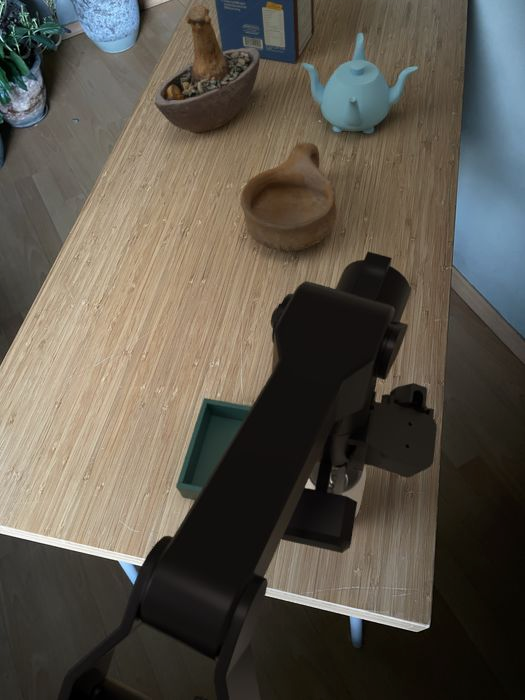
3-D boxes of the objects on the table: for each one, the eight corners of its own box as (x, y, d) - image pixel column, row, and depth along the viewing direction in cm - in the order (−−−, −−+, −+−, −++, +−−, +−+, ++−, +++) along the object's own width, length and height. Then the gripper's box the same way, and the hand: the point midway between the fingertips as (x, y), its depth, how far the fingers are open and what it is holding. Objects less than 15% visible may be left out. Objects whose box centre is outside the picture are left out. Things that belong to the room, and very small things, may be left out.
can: (311, 537, 65) (310, 505, 55) (296, 482, 69) (292, 443, 58) (368, 522, 66) (377, 488, 55) (350, 467, 69) (355, 426, 59)
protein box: (241, 21, 118) (232, -65, 105) (314, 32, 114) (314, -56, 101) (220, 52, 113) (207, -35, 100) (296, 64, 109) (292, -24, 96)
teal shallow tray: (276, 517, 67) (274, 507, 63) (182, 497, 69) (175, 486, 65) (296, 427, 72) (295, 414, 69) (209, 411, 74) (203, 397, 71)
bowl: (242, 170, 94) (253, 119, 85) (327, 189, 96) (346, 140, 87) (229, 257, 85) (240, 208, 76) (323, 276, 87) (344, 230, 78)
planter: (163, 149, 100) (131, 35, 83) (186, 87, 109) (162, -29, 92) (248, 154, 98) (233, 37, 81) (265, 90, 106) (255, -28, 89)
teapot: (301, 116, 102) (299, 62, 93) (361, 84, 105) (364, 28, 96) (349, 155, 96) (351, 101, 87) (411, 120, 99) (419, 64, 90)
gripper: (427, 544, 40) (400, 584, 53) (448, 320, 49) (420, 402, 63) (268, 510, 42) (280, 557, 56) (316, 301, 51) (317, 384, 65)
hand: (330, 470), depth 60 cm, fingers open, 9 cm apart
